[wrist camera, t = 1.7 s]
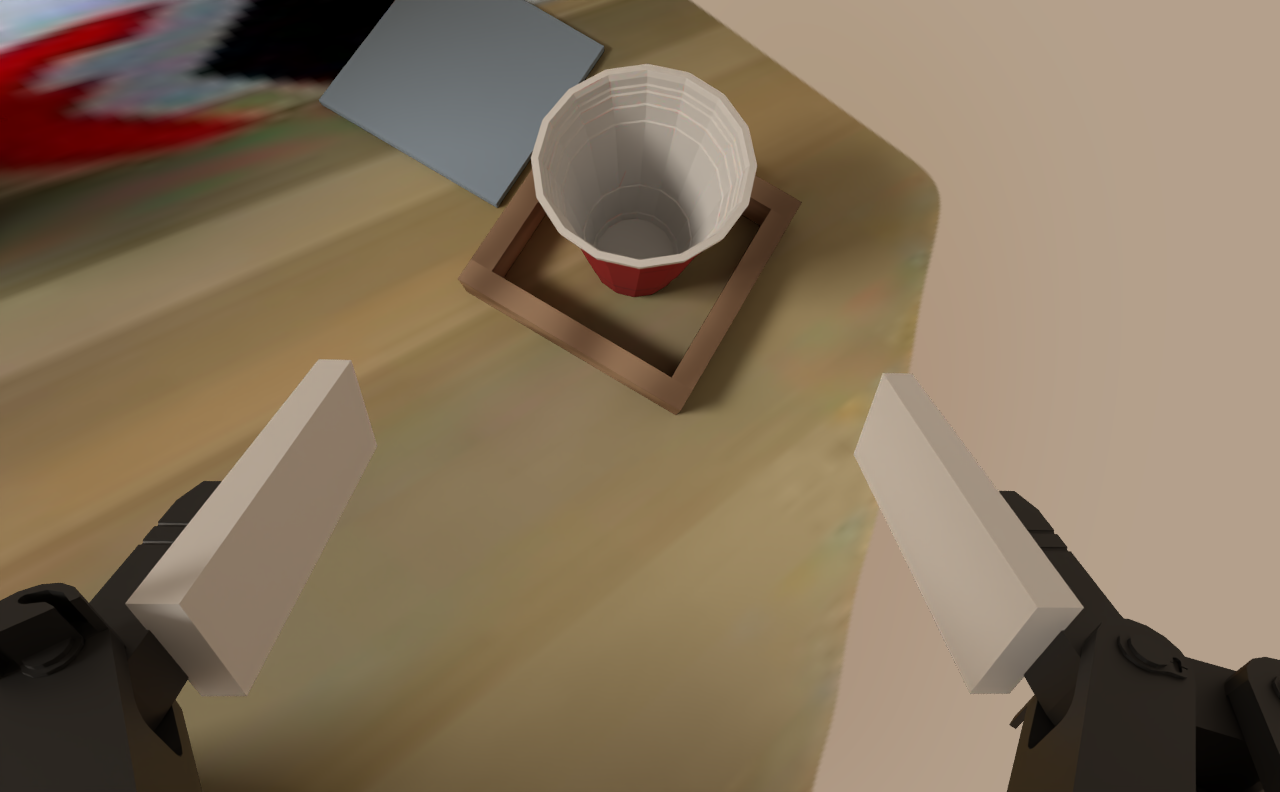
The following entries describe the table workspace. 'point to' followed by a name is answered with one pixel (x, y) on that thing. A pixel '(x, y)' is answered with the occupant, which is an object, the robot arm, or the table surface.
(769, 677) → the table surface
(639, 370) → the wooden frame
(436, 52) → the coaster
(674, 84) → the plastic cup
